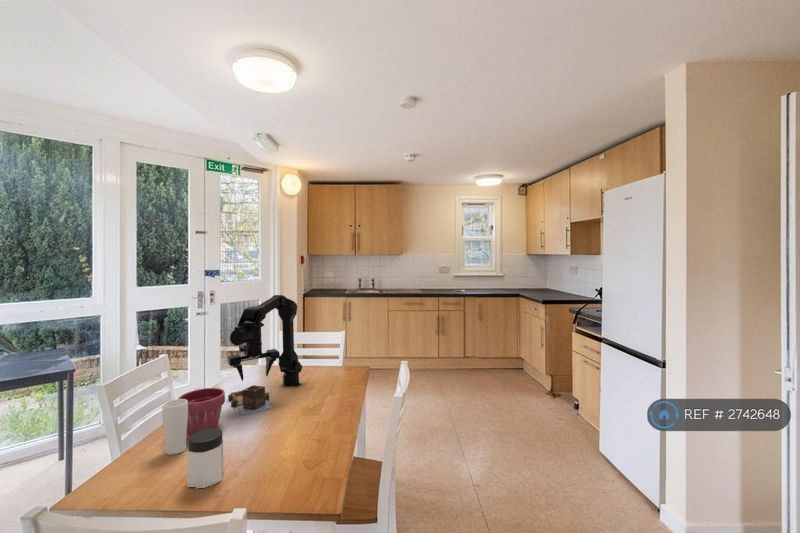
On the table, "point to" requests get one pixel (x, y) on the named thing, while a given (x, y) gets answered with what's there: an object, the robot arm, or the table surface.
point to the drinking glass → (175, 425)
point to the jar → (205, 458)
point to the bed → (240, 398)
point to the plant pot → (203, 409)
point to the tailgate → (250, 411)
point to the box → (254, 397)
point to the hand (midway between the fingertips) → (254, 378)
